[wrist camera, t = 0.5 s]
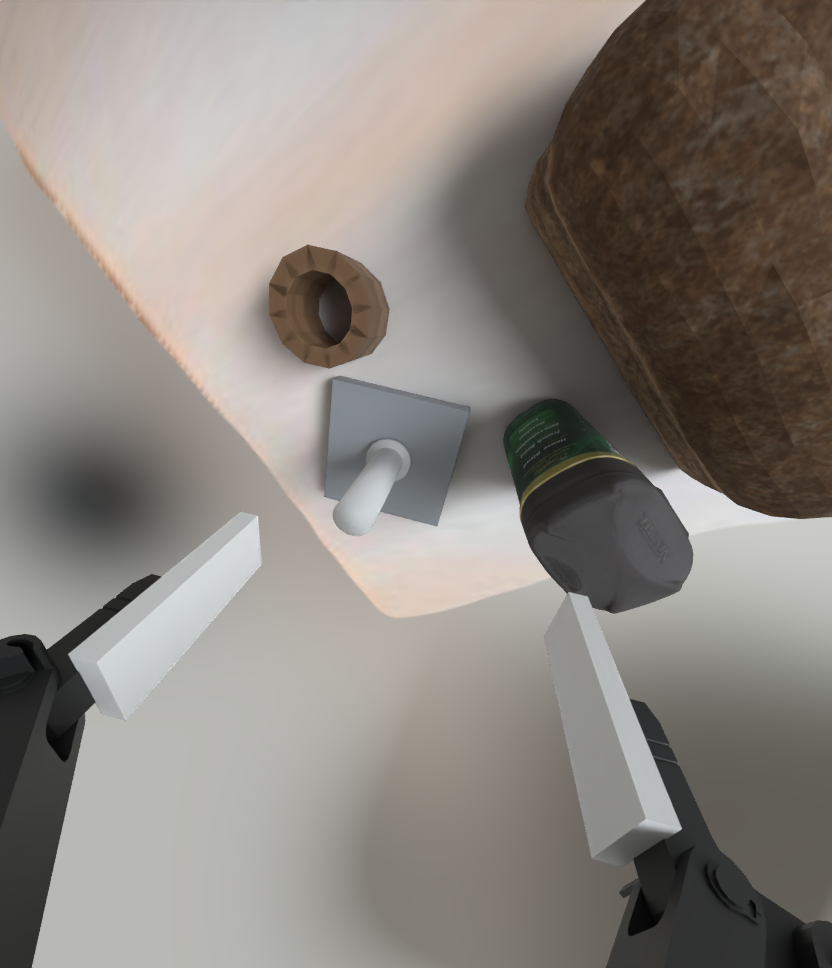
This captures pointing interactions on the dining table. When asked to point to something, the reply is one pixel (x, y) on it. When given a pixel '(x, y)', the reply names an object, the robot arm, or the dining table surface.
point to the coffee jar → (593, 512)
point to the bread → (709, 235)
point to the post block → (389, 453)
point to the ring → (299, 306)
